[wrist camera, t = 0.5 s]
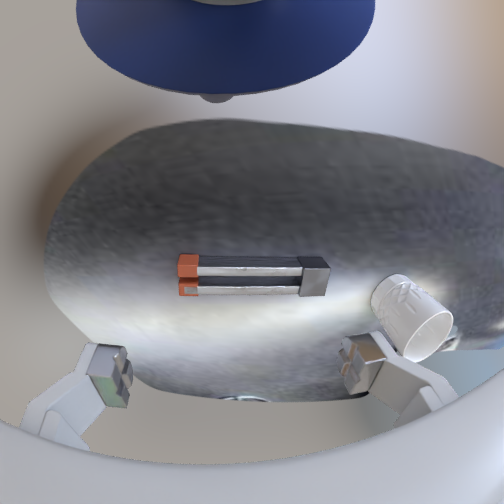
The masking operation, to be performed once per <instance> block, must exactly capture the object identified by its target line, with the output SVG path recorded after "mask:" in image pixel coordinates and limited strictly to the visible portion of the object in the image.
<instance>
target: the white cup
mask: <svg viewBox="0 0 504 504" xmlns="http://www.w3.org/2000/svg"><path fill="white" fill-rule="evenodd" d="M371 307H372V311H373V312H374V314H375V315H376V316H377V318H378V319H379V321H380V323H381V325H382V327H383V328H384V330H385V331H386V333H387V335H388V336H389V338H390V339H391V341H392V342H393V344H394V345H395V347H396V348H397V350H398V352H399V353H400V355H401V356H403V357H405V358H407V359H409V360H411V361H413V362H415V363H417V362H419V361H421V360H423V359H425V358H427V357H428V356H430V355H431V354H432V353H433V352H435V351H436V350H437V349H438V348H439V347H440V346H441V344H442V343H443V342H444V340H445V339H446V338H447V336H448V334H449V332H450V330H451V328H452V324H453V315H452V314H451V313H450V312H449V311H448V310H447V309H446V308H445V307H444V306H442V305H441V304H440V303H439V302H438V301H437V300H435V299H434V298H433V297H432V296H431V295H429V294H428V293H427V292H426V291H424V290H423V289H422V288H421V287H419V286H418V285H416V284H414V283H413V282H412V281H411V280H409V279H408V278H407V277H406V276H404V275H400V274H395V275H392V276H389V277H387V278H386V279H385V280H383V281H382V282H381V283H380V284H379V285H378V286H377V288H376V289H375V291H374V292H373V295H372V299H371Z"/></svg>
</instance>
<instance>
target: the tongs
mask: <svg viewBox="0 0 504 504" xmlns="http://www.w3.org/2000/svg"><path fill="white" fill-rule="evenodd" d="M177 268H178V277H180V280H179V295H180V296H198V295H199V294H201V295H266V294H298V295H299V297H304V296H325V292H326V288H327V284H328V280H329V275H330V271H331V268H330V267H329V266H328V264H327V263H326V262H325V261H324V259H323V258H322V257H297V258H269V257H199V255H188V254H180V256H179V260H178V265H177Z"/></svg>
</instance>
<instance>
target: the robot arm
mask: <svg viewBox="0 0 504 504" xmlns="http://www.w3.org/2000/svg"><path fill="white" fill-rule="evenodd" d="M193 1H197V2H201V3H206V4H213V5H241V4H248V3H253V2H257V1H261V0H193ZM341 344H342V346H343V348H342V349H341V350H340V351H339V352H338V356H337V368H338V371H339V373H340V374H341V375H342V376H344V377H345V381H344V383H345V385H346V387H347V389H348V391H349V393H350V395H351V394H355V393H360V392H364V391H368V392H370V393H371V394H373V395H374V396H375V397H377V398H378V399H379V400H381V401H382V402H383V403H385V404H386V405H387V406H389V407H390V408H391V409H393V410H394V411H395V412H397V413H398V414H399V415H400V416H399V418H398V419H397V420H396V421H395V423H394V425H393V426H394V428H395V429H392V430H390V431H387V432H384V433H381V434H379V435H376V436H373V437H370V438H367V439H364V440H361V441H358V442H354V443H351V444H347V445H343V446H340V447H336V448H332V449H329V450H324V451H320V452H315V453H310V454H305V455H300V456H295V457H289V458H282V459H275V460H268V461H259V462H249V463H235V464H173V463H158V462H149V461H141V460H133V459H126V458H120V457H114V456H108V455H104V454H99V453H95V452H90V451H89V449H90V448H89V446H88V445H87V444H86V442H85V441H84V440H83V439H82V438H81V437H80V436H81V435H82V433H83V432H84V431H85V430H86V429H87V428H88V427H89V426H90V425H91V424H92V423H93V422H94V421H95V419H96V418H97V417H98V416H99V415H100V414H101V413H102V412H103V410H105V408H106V406H109V407H119V408H127V405H128V400H129V396H130V394H129V392H128V390H127V389H128V388H129V387H130V386H131V385H132V381H133V369H132V365H131V362H130V361H129V360H128V359H126V357H127V354H128V353H127V351H126V348H125V347H124V346H118V345H108V344H97V343H89V342H88V343H87V344H86V345H85V346H84V349H83V351H82V353H81V356H80V358H79V360H78V362H77V364H76V367H75V369H74V372H73V373H68V374H67V375H65V376H64V377H63V378H61V379H60V380H59V381H57V382H56V383H55V384H53V385H52V386H50V387H49V388H48V389H46V390H45V391H44V392H42V393H41V394H39V395H38V396H37V397H35V398H34V399H33V400H31V401H30V402H29V403H28V406H27V408H26V411H25V413H24V416H23V418H22V421H21V423H20V426H19V428H18V427H16V426H13V425H11V424H9V423H6V422H5V421H3V420H0V504H504V369H502V370H501V371H499V372H498V373H497V374H495V375H494V376H492V377H491V378H490V379H488V380H486V381H485V382H484V383H482V384H481V385H479V386H477V387H476V388H474V389H473V390H471V391H469V392H468V393H466V394H464V395H463V396H461V397H458V395H457V394H456V392H455V391H454V390H453V388H452V387H451V386H450V384H449V383H448V382H447V381H446V379H445V378H444V377H443V376H441V375H439V374H437V373H435V372H433V371H431V370H429V369H427V368H425V367H423V366H421V365H419V364H417V363H415V362H413V361H411V360H409V359H407V358H405V357H403V356H398V355H397V354H396V353H395V351H394V350H393V348H392V347H391V346H390V344H389V343H388V342H387V340H386V339H385V337H384V336H383V335H382V333H381V332H379V331H373V332H368V333H363V334H357V335H351V336H345V337H344V338H343V340H342V343H341Z"/></svg>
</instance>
